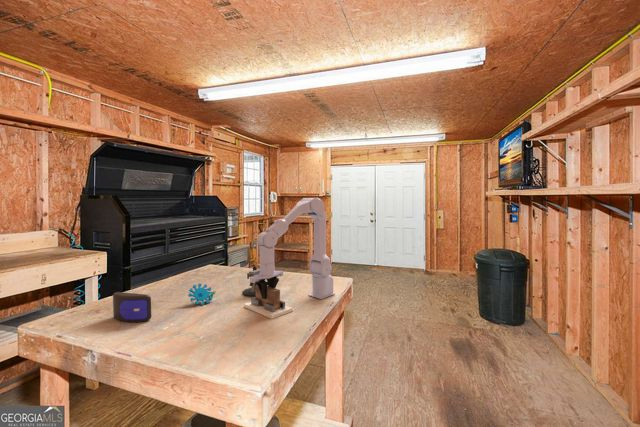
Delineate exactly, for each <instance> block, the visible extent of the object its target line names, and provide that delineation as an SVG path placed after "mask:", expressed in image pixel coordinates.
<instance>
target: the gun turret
mask: <svg viewBox="0 0 640 427" xmlns="http://www.w3.org/2000/svg"><path fill="white" fill-rule="evenodd" d="M258 274H260V265H259V266H258V268H257V266H256V265H253V266H252V270H251V271H249V272H247V274H246V275H247V276H246V278H247V280H250V277H253V276H256V275H258ZM256 285H257V284H256V282H255V283H251V282H250V281H249V286H250V287H248V288H245V289H243V291H241V292H242V293H241V294H242V295H243V296H244V297H249V298H252V297H254V298H256V287H255V286H256Z"/></svg>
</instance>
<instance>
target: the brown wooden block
mask: <svg viewBox="0 0 640 427" xmlns="http://www.w3.org/2000/svg"><path fill="white" fill-rule="evenodd" d="M255 287H256V297H255V298H256V299H259V300H260V305H263V306H264V303H266V302H267V303H270V304H272V305H275V310H276V309H279V308H280V300H281V289H280V288H279V289H278V288H272V287H269V286H267V297H266V299H263V298H262V296H261V293H260V290H259V287H258V286H257V285H256V286H255Z"/></svg>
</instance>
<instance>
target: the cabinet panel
mask: <svg viewBox="0 0 640 427" xmlns="http://www.w3.org/2000/svg"><path fill="white" fill-rule="evenodd" d="M243 307H244V308H246V309H248V310H250V311H253V312H255V313H258V314H260V315H262V316H265V317H266V318H268V319H275V318H277V317H281V316H284V315H286V314H288V313H291V312H293V310H294V309H293V307H291V306H288V305H286V304H285V308H284V309H282V308H279V309H276V310H275V312H270V311H268V310H265V309H264V306H263V305H260V306H259V307H258V306H255V305H253V304H251V301H250V302H245V303H243Z"/></svg>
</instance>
